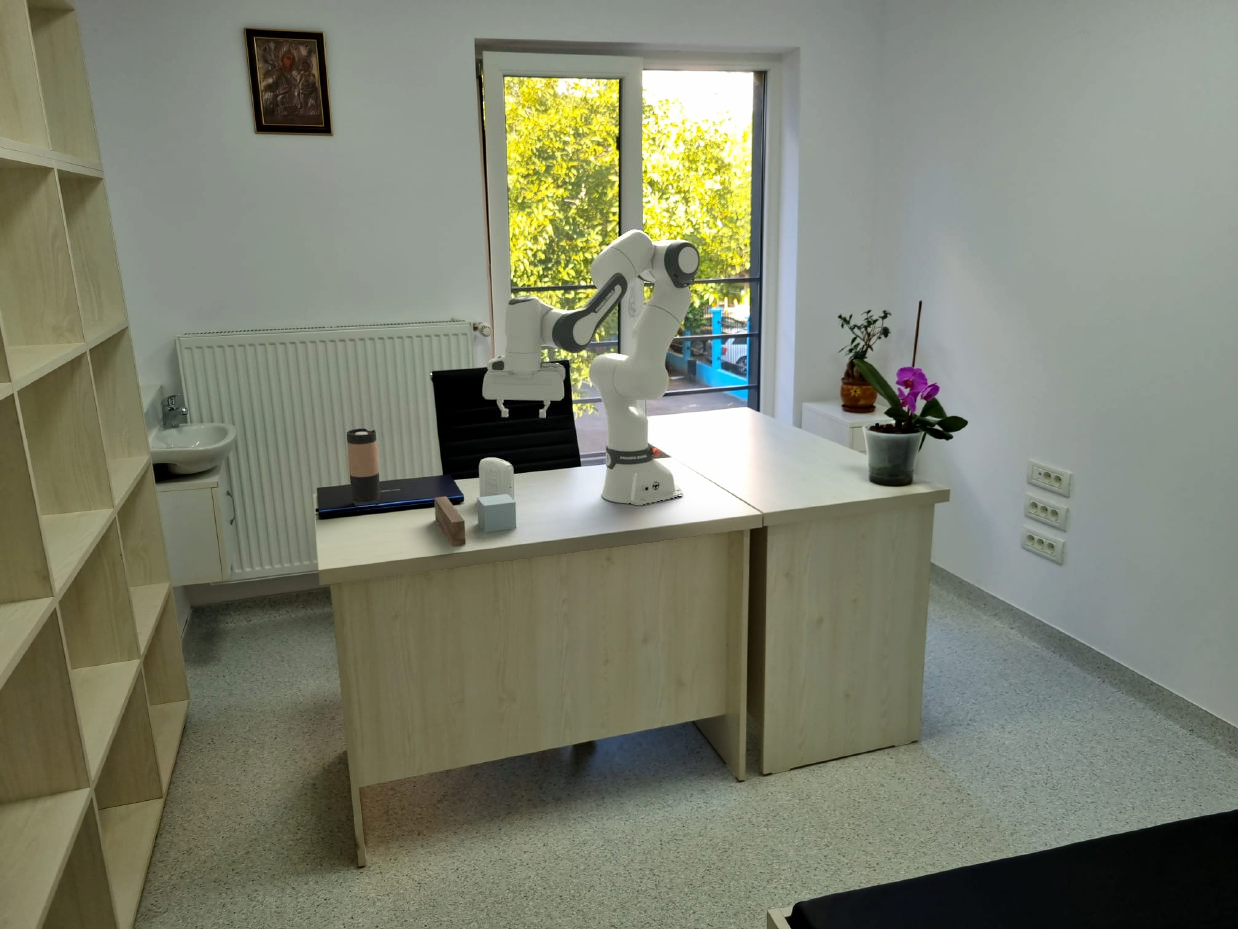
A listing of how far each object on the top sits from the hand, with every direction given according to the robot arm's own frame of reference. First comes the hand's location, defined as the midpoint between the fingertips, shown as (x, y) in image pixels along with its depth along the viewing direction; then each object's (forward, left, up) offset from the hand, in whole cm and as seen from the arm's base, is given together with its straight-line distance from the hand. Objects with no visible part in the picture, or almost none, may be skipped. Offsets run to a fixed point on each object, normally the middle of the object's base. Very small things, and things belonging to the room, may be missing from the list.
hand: (523, 416), depth 236 cm
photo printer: (+4, -15, -27) cm, 31 cm away
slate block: (+9, +3, -27) cm, 28 cm away
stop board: (+21, +3, -27) cm, 34 cm away
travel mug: (+37, -27, -27) cm, 53 cm away
